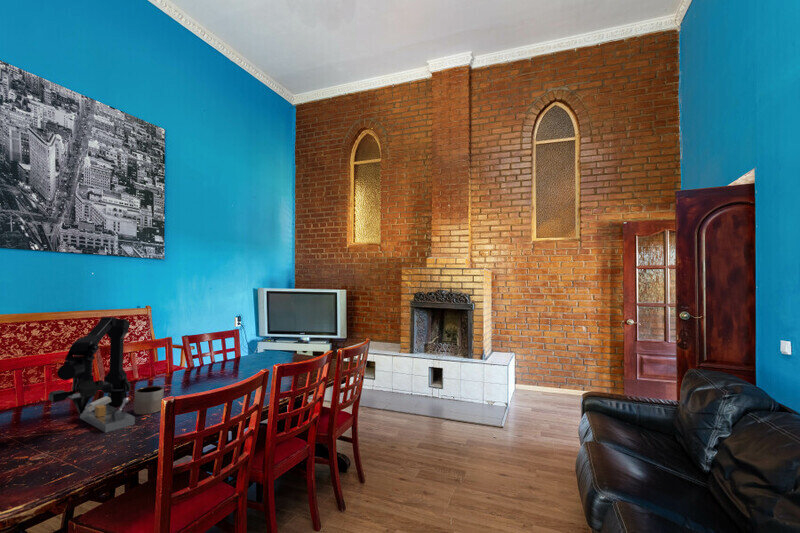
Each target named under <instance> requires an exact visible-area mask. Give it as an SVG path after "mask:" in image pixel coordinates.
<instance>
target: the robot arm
mask: <svg viewBox="0 0 800 533" xmlns="http://www.w3.org/2000/svg"><path fill="white" fill-rule="evenodd" d="M129 328H130V321H129V320H127V318H117V317H114V316H103V317H101V318H100V319H99V322H98V323H97V324H96V325H95V326H94V327H92V329H91V330H90V331H89V332H88V334H87V335H85V336H82V337H80V338H78V339H77V340H75V341H74V342H73V343H72V344H71V346H70V348H69V350H68V352H67V355H66V356H65V358H64V362H63V365H61V366H60V367H59V368H58V370H57V372H56V373H57V376H58V378H59V379H61V380H63V381H69V380H71V379H72V386H71V390H68V391H66V390H63V389H59V390H54V391H50V392H49V393H48V396H47V398H48V401H51V402H52V403H56V402H63V401H65V400H67V399H69V400H71V401H72V402H73V404H74V405H75V408H76V410H77V412H78V414H79V415H80V414H82V413H83V411H84V410H85V407H86V405H87V404H89V401H90V399H91V398H93V397H95V396H96V395H97V392H98V391H101V392H103V393H104V394H107V395H106V396H107V397H110V398H111V401H112V402H110V403H107V404H105V406H106V405H110V406H112V407H114V408H117V407H121V405H122V403H123V399H124V398H127V393H128V392H130V390H131V387H132V384H131V383H130V381H129V379H128V374H127V372H126V371H125V370H124V368H123V367H124V342H125V341H124V338H125V337H126V335H127V334H128V332H129ZM106 335H107V336H108V338H109V339H110V341H109V342H110V344H109V346H110V348H109V350H110V351H109V371H108V373H107V374H106V375H104V377H103V379H99V380H96V381H95V380H94V375H93V365H94V364H93V363H94V360H95V359H96V357H95V354H96V353H97V352H98V349H99V347H100V346H99V343H100V342H101V340H102V339H103V338H104V337H105V336H106ZM127 405H129V402H127V403H126V404H125V405H124V406H127Z"/></svg>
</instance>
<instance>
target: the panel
mask: <svg viewBox="0 0 800 533" xmlns="http://www.w3.org/2000/svg"><path fill="white" fill-rule="evenodd" d="M103 406H106V413H105V416H101V417H97V416H95V410H92V411H90V412H89V411H87V410H85V409H84V411H83V413H82V414H79V420H82V421H84V422H86V423H88V424H89V425H91V426H93V427H94V428H96V429H99V430H100V431H101V432H104V433H108V432H113V431H116V430H120V429H124V428H126V427H131V426H134V425H135V424H136V422H135V421H136V417H135V416H134V415H133V414H132V415H131V414H130V413H127V412H126V411H123V410H121V412H120V413H118V414H115V416H114V413H116V412H117V411H118V410H119V408H117V407H112V406H110V405H106V404H105V405H103Z"/></svg>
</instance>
